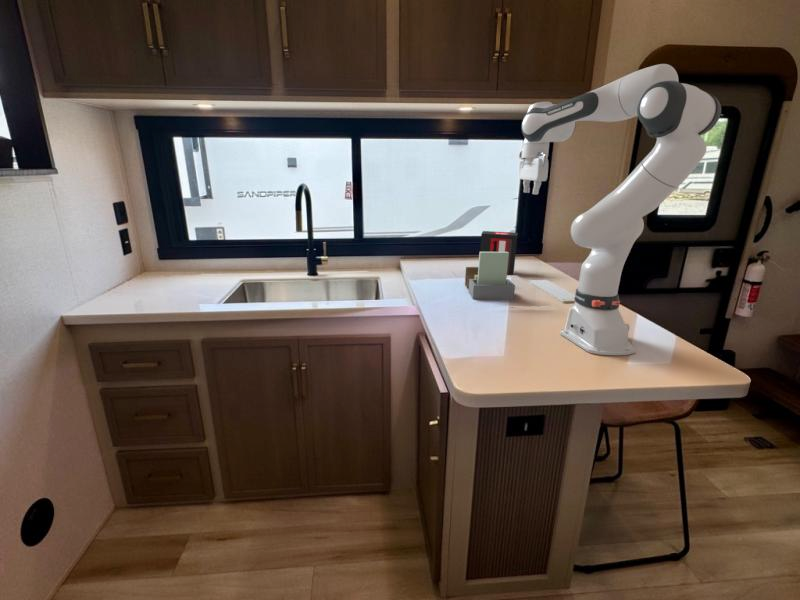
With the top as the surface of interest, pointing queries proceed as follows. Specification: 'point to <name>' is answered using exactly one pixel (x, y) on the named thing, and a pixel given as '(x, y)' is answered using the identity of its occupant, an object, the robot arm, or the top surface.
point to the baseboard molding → (554, 290)
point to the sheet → (492, 268)
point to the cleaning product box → (500, 245)
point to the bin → (491, 290)
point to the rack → (470, 275)
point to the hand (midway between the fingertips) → (530, 193)
